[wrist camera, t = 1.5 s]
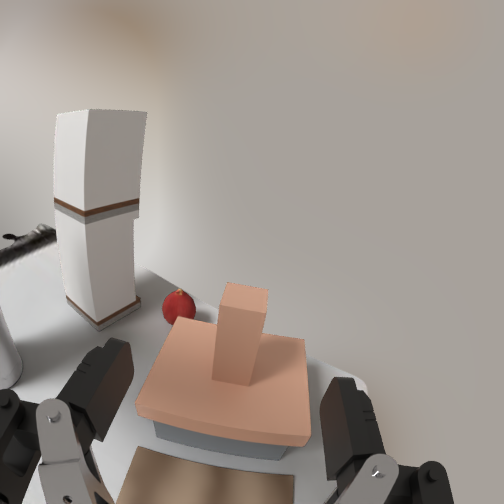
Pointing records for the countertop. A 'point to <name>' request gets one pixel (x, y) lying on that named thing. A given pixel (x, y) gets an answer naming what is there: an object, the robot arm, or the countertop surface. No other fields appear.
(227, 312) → the lid
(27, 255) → the countertop surface
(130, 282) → the white tall block
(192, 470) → the board
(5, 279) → the countertop surface
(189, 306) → the pomegranate
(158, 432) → the storage box
